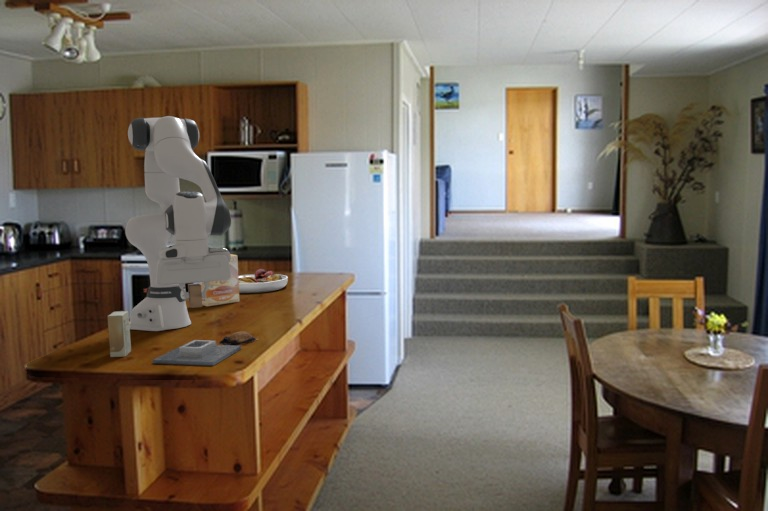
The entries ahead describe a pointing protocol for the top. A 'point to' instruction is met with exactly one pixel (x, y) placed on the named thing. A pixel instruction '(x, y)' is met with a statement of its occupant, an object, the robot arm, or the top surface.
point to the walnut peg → (195, 295)
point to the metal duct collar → (198, 353)
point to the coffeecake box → (223, 287)
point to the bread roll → (238, 339)
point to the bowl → (261, 282)
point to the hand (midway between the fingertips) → (195, 298)
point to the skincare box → (119, 334)
